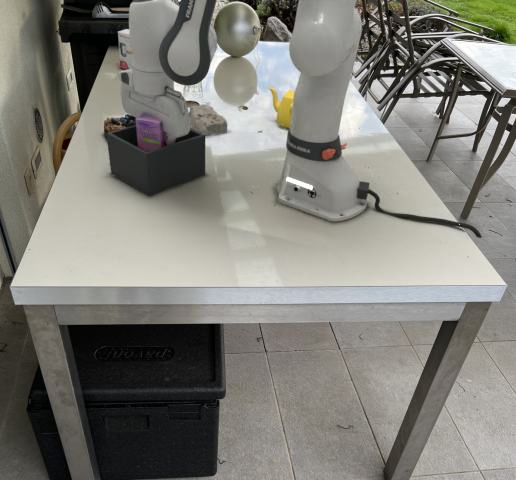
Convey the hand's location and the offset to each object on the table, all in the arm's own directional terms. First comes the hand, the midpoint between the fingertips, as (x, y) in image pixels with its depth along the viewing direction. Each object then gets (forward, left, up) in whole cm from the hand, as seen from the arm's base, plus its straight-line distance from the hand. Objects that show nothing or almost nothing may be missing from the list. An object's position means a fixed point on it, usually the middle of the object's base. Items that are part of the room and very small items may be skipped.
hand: (156, 143), depth 126 cm
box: (0, 0, -5) cm, 5 cm away
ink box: (+70, -46, -8) cm, 84 cm away
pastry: (+23, -8, -8) cm, 26 cm away
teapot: (+1, -53, -8) cm, 54 cm away
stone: (+15, -30, -8) cm, 34 cm away
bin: (0, 0, -8) cm, 8 cm away
